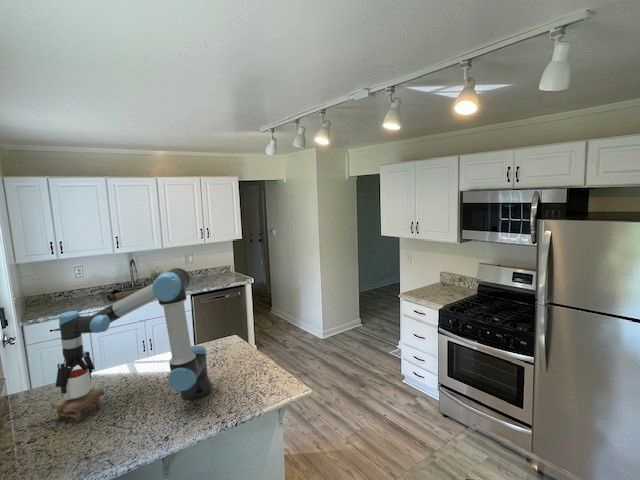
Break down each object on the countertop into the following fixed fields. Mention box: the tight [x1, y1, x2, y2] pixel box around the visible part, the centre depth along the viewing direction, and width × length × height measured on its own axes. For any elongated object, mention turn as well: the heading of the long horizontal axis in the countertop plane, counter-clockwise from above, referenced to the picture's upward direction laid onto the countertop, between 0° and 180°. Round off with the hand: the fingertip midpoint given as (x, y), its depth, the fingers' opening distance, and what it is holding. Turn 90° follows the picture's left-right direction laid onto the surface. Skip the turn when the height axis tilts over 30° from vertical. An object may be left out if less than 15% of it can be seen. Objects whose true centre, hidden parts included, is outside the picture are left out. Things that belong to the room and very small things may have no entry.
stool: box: [51, 388, 105, 424], centre depth 161 cm, size 14×14×8 cm
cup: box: [67, 368, 92, 399], centre depth 160 cm, size 10×10×10 cm
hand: (77, 392), depth 160 cm, fingers closed on cup, 10 cm apart
